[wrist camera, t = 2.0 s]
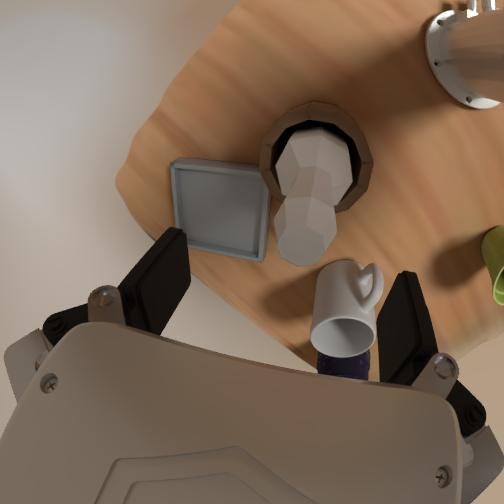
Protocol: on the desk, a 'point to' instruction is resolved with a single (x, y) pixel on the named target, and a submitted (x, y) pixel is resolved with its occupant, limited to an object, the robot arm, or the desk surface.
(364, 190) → the holder
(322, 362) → the storage jar
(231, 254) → the tray
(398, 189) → the desk surface
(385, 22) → the desk surface
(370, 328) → the mug
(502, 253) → the plant pot
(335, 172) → the faceted bottle
